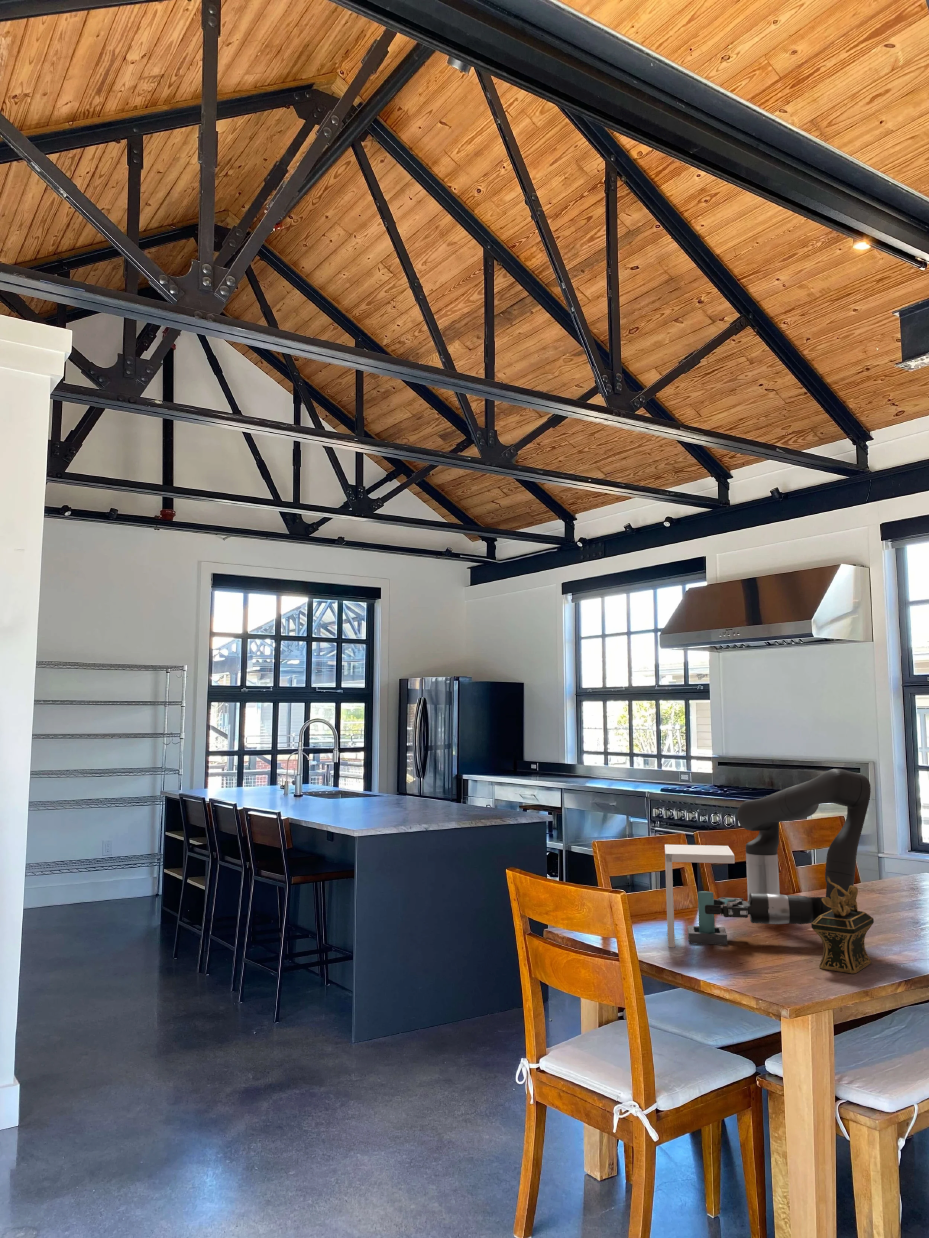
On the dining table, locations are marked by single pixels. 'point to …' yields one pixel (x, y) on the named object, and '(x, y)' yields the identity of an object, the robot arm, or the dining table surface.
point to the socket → (707, 936)
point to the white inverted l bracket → (689, 855)
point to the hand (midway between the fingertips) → (704, 906)
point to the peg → (705, 919)
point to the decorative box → (843, 932)
